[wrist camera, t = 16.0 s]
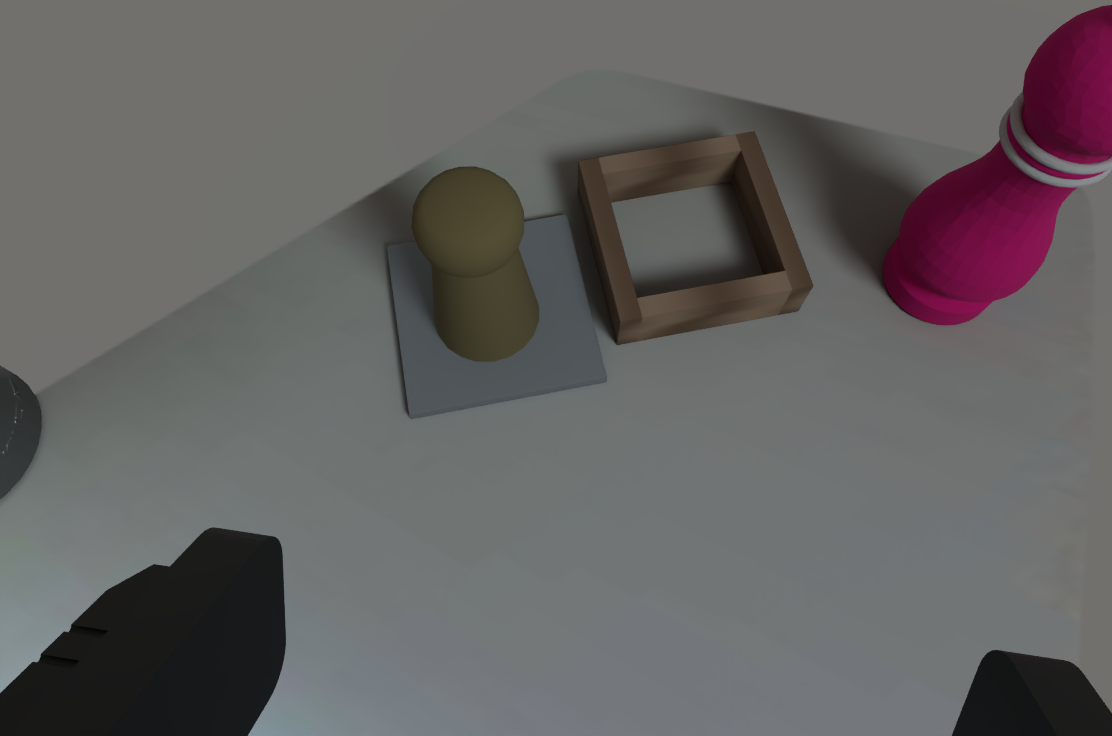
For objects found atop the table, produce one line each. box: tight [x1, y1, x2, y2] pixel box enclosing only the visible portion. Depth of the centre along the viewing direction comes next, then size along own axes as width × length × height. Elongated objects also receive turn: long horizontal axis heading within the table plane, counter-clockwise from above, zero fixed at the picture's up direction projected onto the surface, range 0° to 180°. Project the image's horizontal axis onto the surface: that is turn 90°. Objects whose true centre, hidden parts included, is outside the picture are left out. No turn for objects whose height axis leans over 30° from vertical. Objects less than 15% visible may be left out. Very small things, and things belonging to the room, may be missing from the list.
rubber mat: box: [387, 214, 607, 419], centre depth 45 cm, size 11×11×1 cm
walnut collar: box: [578, 131, 813, 345], centre depth 45 cm, size 11×11×3 cm
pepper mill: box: [883, 5, 1112, 325], centre depth 37 cm, size 7×7×20 cm
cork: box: [412, 167, 539, 362], centre depth 39 cm, size 6×6×11 cm
